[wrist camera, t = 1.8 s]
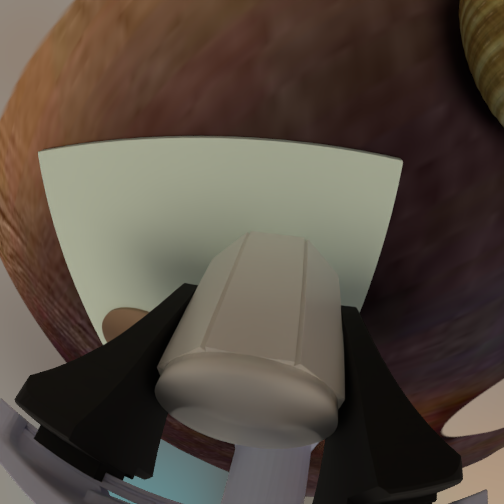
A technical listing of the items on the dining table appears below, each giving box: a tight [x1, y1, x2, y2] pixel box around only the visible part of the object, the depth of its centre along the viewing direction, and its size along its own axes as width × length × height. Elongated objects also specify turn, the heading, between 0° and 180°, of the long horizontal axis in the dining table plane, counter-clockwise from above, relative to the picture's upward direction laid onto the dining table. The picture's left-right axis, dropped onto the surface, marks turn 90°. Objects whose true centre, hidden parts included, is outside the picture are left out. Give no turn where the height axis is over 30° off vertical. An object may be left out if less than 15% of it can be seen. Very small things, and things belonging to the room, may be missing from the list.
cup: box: [155, 231, 345, 449], centre depth 9 cm, size 5×5×6 cm
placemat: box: [38, 136, 403, 345], centre depth 15 cm, size 20×16×1 cm
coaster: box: [102, 307, 149, 342], centre depth 16 cm, size 8×8×1 cm
